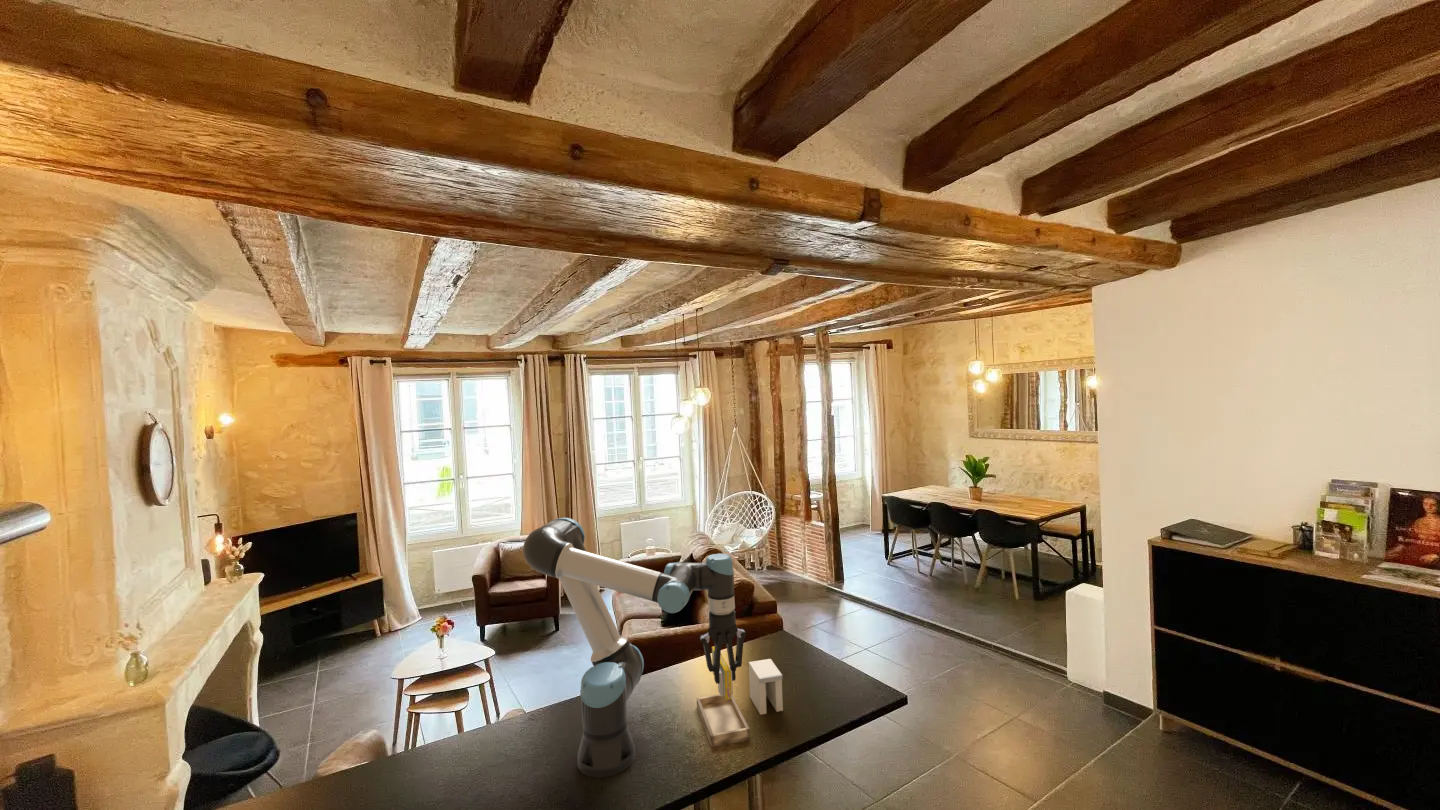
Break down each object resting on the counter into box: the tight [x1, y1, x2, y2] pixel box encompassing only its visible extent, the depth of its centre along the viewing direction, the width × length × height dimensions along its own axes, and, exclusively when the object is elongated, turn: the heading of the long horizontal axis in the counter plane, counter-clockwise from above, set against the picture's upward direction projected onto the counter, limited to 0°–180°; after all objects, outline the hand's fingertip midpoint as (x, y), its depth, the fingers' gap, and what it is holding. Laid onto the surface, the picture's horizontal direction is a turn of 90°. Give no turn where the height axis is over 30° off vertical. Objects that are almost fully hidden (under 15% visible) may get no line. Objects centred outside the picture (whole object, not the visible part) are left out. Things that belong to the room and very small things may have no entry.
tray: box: [696, 693, 751, 748], centre depth 164 cm, size 11×20×3 cm, turn 14°
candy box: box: [711, 645, 733, 700], centre depth 162 cm, size 16×2×8 cm, turn 14°
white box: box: [748, 658, 784, 716], centre depth 172 cm, size 7×11×11 cm, turn 14°
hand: (725, 692), depth 158 cm, fingers closed on candy box, 2 cm apart
